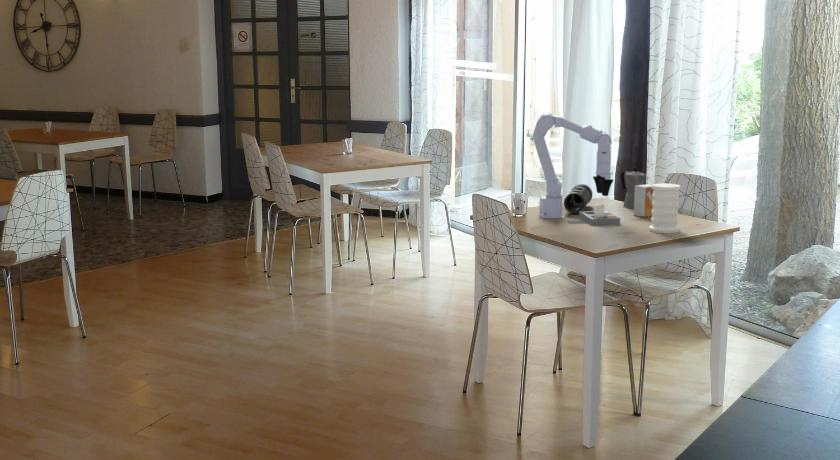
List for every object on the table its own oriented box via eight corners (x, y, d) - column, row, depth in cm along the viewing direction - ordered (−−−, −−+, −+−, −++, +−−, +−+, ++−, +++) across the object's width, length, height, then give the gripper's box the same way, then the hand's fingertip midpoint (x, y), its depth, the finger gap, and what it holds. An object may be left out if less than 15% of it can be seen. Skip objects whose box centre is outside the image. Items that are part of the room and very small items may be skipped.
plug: (595, 225, 381) (595, 205, 380) (592, 223, 385) (593, 204, 384) (604, 224, 382) (605, 205, 380) (601, 223, 386) (602, 203, 384)
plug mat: (570, 225, 381) (570, 223, 381) (566, 222, 388) (566, 220, 388) (587, 224, 382) (587, 223, 382) (582, 221, 389) (582, 220, 389)
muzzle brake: (562, 215, 403) (563, 192, 401) (571, 205, 430) (572, 182, 428) (585, 216, 401) (585, 192, 399) (592, 206, 427) (593, 183, 425)
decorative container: (674, 227, 375) (676, 183, 372) (683, 233, 364) (685, 187, 361) (645, 227, 375) (647, 183, 372) (653, 233, 364) (655, 187, 360)
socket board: (591, 226, 379) (591, 218, 378) (578, 218, 396) (579, 210, 396) (619, 225, 380) (620, 217, 379) (606, 217, 397) (606, 210, 397)
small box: (644, 217, 397) (645, 187, 395) (633, 215, 402) (634, 185, 400) (657, 215, 402) (658, 185, 400) (645, 213, 407) (646, 183, 405)
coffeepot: (652, 207, 421) (653, 168, 418) (637, 209, 416) (638, 169, 413) (627, 203, 434) (628, 164, 430) (612, 205, 429) (613, 166, 425)
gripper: (618, 164, 384) (616, 196, 387) (607, 160, 399) (606, 191, 401) (601, 164, 384) (600, 197, 386) (591, 160, 398) (590, 191, 400)
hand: (602, 194), depth 394 cm, fingers open, 7 cm apart
